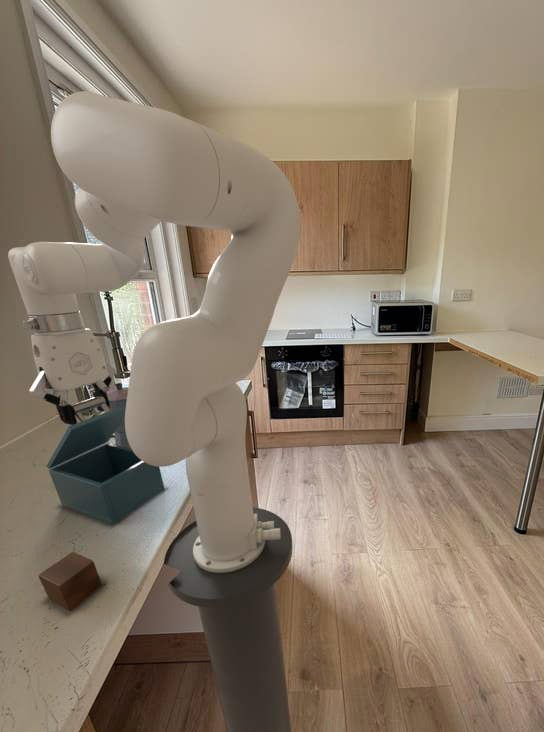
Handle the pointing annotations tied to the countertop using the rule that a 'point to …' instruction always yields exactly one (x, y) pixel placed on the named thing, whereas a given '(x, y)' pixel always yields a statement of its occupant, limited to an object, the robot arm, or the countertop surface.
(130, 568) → the countertop surface
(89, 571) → the block
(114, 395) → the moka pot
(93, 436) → the bin lid
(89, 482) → the bin
